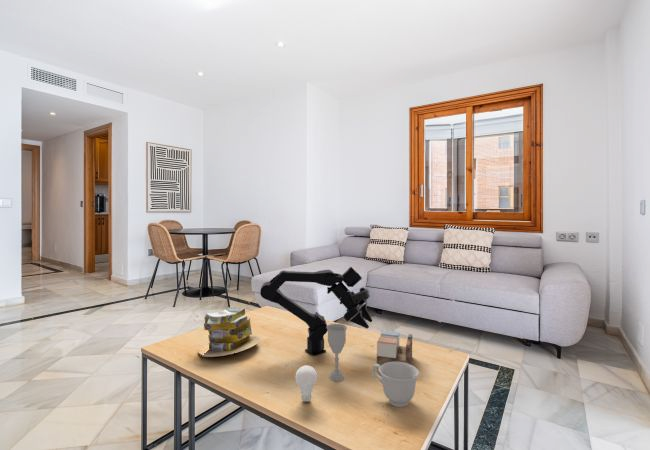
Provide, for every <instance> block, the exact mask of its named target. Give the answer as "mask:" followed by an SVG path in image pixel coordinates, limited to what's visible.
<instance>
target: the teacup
mask: <svg viewBox="0 0 650 450" xmlns="http://www.w3.org/2000/svg"><path fill="white" fill-rule="evenodd" d="M376 368H377V369H378V372H379V373H380V375H381V376H380V375H379V374H378V373H377V372H376ZM371 372H372V375H373V376H374V378H375V379H377V380H378V381H379V382H380V383H381V384H382V389H383V393H384V395H385V397H386V398H387V399H388V402H389V404H391V405H392V406H394V407H397V408H405V407H406V406H408V404H409V402H410V401H411V400H412V399H413V397H414V395H415V391H416V383H417V378H418V377H419V376H420V371H419V369H418V367H417V368H416V366H414V365H412V363H411V364H408V363H404V362H387V363H384V364H382V365H381V366H380V365H379V364H377V363H375V364H373V365H372V367H371Z"/></svg>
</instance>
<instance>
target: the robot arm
mask: <svg viewBox="0 0 650 450" xmlns="http://www.w3.org/2000/svg"><path fill="white" fill-rule="evenodd" d="M362 279H363V277H362V276H361V275H360V274H359V273H358V272H357V271H356V270H355V269H354V268H353V267H352V266H349V267H348V269H346V271H344V272H343V274H340V273H335V272H334V271H333V270H331V269H323V270H318V271H296V270H295V271H294V270H293V271H291V270H290V271H289V270H281V271H280V272H279V273H278V274H276V275H275V276H274V277H273V278H272V279H271V280H269V281H266V282H264V283H263V284H262V285H261V288H260V296H261V297H262V299H264V300H267V301H269V302H270V303H274V304H277V305H279V306H281V307H282V308H284V309H285V310H287V311H288V312H289V313H291V314H292V315H294V316H295V317H297V318H299V319H300V320H302V321H303V322H304V323H305V324H306V325H307V327H308V328H307V332H308V336H307V339H306V340H307V341H306V345H307V346H306V349H304V351H305V353H308V354H309V355H312V356H318V355H321V354H323V353H326V352H327V349H325V338H324V336H325V335H326V334H328V330H327V328H326V326H327V325H328V324H327V321H326V319H325V316H324V315H321V314H320V313H319V312H317V311H315V312H314V313H311V312H309V311H308V310H306V309H305V308H304V307H302V306H301V305H299V304H298V303H297V302H295V301H294V300H292V299H290V298H289V297H288V296H286V295H285V294H284V293H283V292H282V291H281V289H280V287H281V286H283V284H284V283H286V282H293V283H294V282H296V283H298V282H299V283H315V284H319V285H322V286H327V290H326V291H327V292H326V293H327V294H328V295H329V294H330V293H333V295H334V296H335V297H336V298H337V299H338V300H339V301H340V302H339V304H340V305H343V306H344V307H345V309H346V310H345V311H346V312H345V313H344V315H343V319H344V320H345V321H346V322H350V323H354V324H355V325H358V326H361V327H362V328H364V329H369V328H370V326H369V324H368V322H370V323H372V322H373V319H372V317H371V315H370V313H369V311H368V309H367V305H368V301H367V300H368V299H369V298H370V297H371V296H370V293H369V290H368V288H365V287H360V289H359V291H357V292H356V293H355V292H354V291H350V289H348V288H354V286H356V285H357V284H358V283H359V282H360V281H362ZM344 283H345V284H344ZM367 321H368V322H367Z"/></svg>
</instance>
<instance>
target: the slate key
mask: <svg viewBox="0 0 650 450" xmlns="http://www.w3.org/2000/svg"><path fill="white" fill-rule="evenodd" d="M379 337H382V338H390V339H397V348H399V346H400V332H399V331H394V330H381V333H380V335H379Z"/></svg>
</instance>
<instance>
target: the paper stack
mask: <svg viewBox="0 0 650 450" xmlns="http://www.w3.org/2000/svg"><path fill="white" fill-rule="evenodd" d="M251 324H252V323H251V318H248V316H247V315H246V309H245V307H233V308H232V307H230V308H223V309H221V310H219V311H217V312H208V313H205V316H204V323H203V329H204V331H208V342H209V343H208V344H209V350H208V351H207V352H206V353H204V355H202V356H201V357H204V358H209V357H210V358H213V357H214V358H215V357H224V356H228V355H233V354H234V353H235V354H236V353H239V352H243V351H246V350H248V349H251V348H252V347H254V346H255V345H257V344H258V343H259V342H260V337H258V336H256V335H253V334H252V332H253V331H252V325H251Z"/></svg>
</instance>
